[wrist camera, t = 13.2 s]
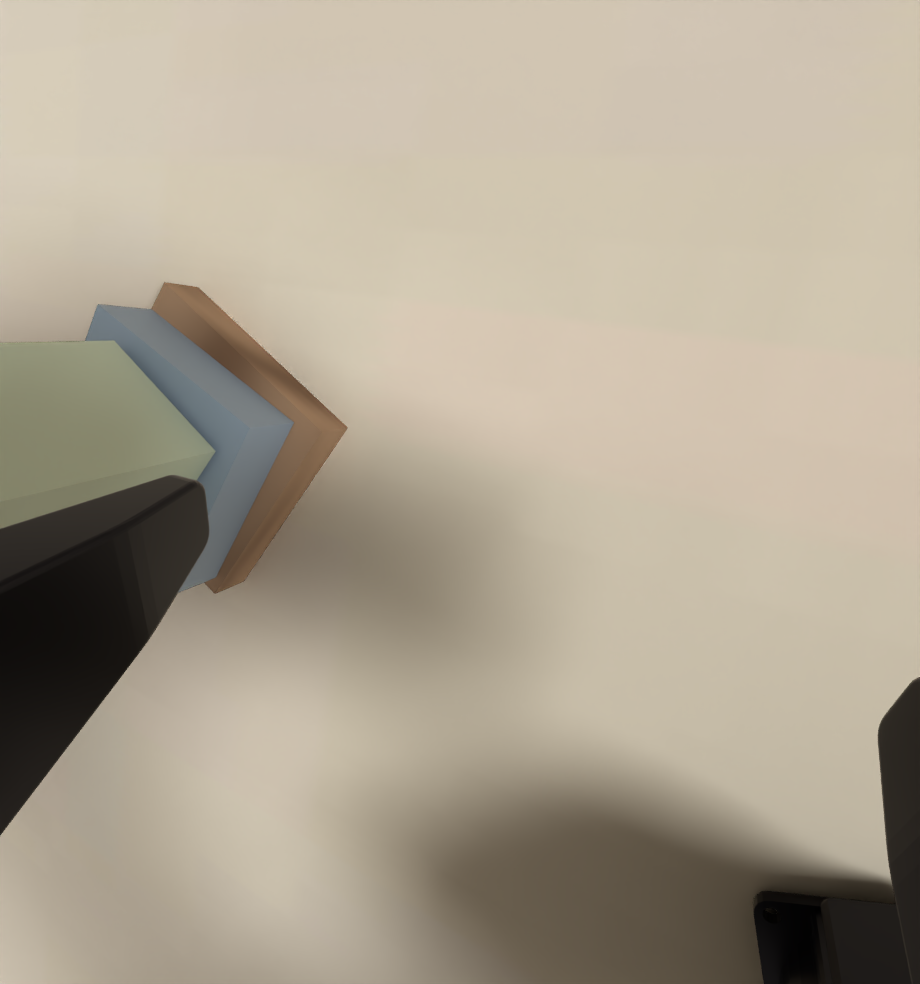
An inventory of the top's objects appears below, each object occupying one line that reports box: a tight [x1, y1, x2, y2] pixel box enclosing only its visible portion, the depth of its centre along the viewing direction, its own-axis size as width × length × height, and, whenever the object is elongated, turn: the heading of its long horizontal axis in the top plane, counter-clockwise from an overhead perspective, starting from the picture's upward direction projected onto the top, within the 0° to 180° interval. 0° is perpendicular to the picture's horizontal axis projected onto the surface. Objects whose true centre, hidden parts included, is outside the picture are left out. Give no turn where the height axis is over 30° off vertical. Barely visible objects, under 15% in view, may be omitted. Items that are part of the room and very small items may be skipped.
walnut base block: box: [151, 282, 347, 594], centre depth 25 cm, size 8×8×2 cm
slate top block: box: [85, 304, 294, 593], centre depth 23 cm, size 7×7×2 cm
